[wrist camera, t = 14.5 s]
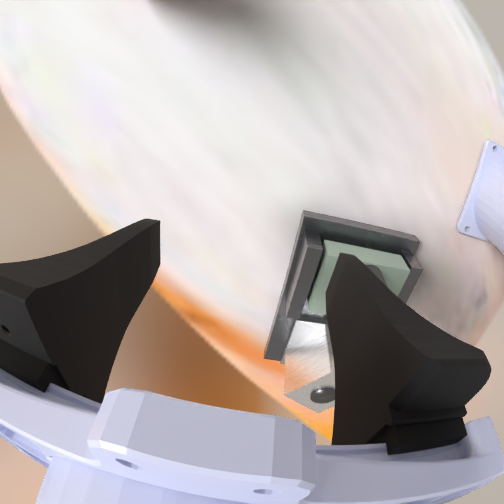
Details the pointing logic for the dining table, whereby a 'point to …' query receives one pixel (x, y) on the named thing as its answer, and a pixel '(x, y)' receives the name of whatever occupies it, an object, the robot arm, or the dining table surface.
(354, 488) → the robot arm
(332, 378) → the block
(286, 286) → the press
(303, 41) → the dining table surface
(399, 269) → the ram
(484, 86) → the dining table surface
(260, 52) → the dining table surface
